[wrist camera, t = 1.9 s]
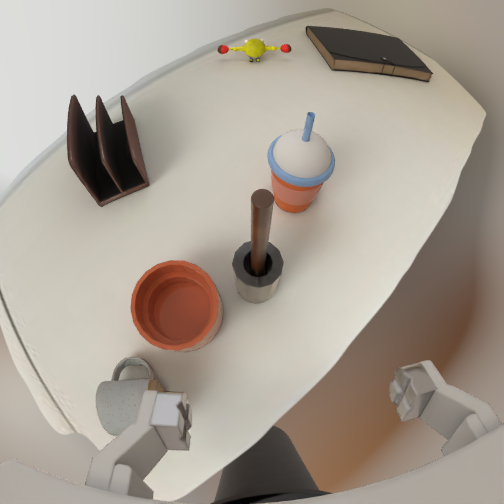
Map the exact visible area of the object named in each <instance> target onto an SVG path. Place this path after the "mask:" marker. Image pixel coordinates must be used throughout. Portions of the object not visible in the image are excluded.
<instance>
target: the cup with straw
mask: <svg viewBox="0 0 504 504" xmlns="http://www.w3.org/2000/svg"><path fill="white" fill-rule="evenodd" d="M314 118H315V114H314V113H313V112H308V113H307V118H306V123H305V128H304V129H295V130H291V131H289V132H287V133H285V134H283V135H281V136H279V137H278V138H276V139H275V140H274V141H273V142H272V144H271V145H270V148H269V150H268V162H269V165H270V168H271V173H272V188H273V191H274V199H275V202H276V204H277V205H278V206H279V207H280V208H281V209H283V210H285V211H287V212H291V213H297V212H301V211H303V210H305V209H306V208H308V206H309V205H310V203H311V202H312V200H313V199H314V198H315V197H316V195H317V193H318V191H319V190H320V188H321V186H322V184H323V182H324V181H326V180H327V179H328V178H329V177H330V176H331V174H332V172H333V170H334V166H335V159H334V155H333V152H332V150H331V148H330V147H329V146H328V144H327V143H326V141H325V140H324V139H323V138H322V137H321V136H320V135H318V134H317V133H315V132H313V131H312V126H313V122H314Z"/></svg>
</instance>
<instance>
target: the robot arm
mask: <svg viewBox="0 0 504 504" xmlns="http://www.w3.org/2000/svg"><path fill="white" fill-rule="evenodd" d="M394 375H395V377H396V378H395V379H394V380H393V381H392V382H391V384H390V388H389V391H390V392H389V394H390V398H391V400H392V402H393V403H394V404H396V405H398V407H397V413H398V415H399V417H400V419H401V421H402V422H405V421H409V420H412V419H415V418H418V417H419V418H420V419H421V420H422V421H424V422H425V423H426V424H427V425H429V426H430V427H431V428H433V429H434V430H436V431H437V432H438V433H440V434H441V435H442V436H444V437H445V438H447V439H448V441H447V442H446V444H445V445H444V446H443V447H442V449H441V451H442V453H443V455H444V457H442V458H440V459H438V460H435V461H434V462H431V463H428V464H426V465H424V466H421V467H419V468H416V469H414V470H411V471H409V472H406V473H403V474H401V475H398V476H395V477H392V478H389V479H386V480H383V481H380V482H376V483H373V484H369V485H366V486H362V487H359V488H355V489H351V490H347V491H342V492H338V493H333V494H328V495H323V496H318V497H312V498H306V499H299V500H292V501H283V502H274V503H261V504H504V423H503V424H502V423H501V421H500V420H499V418H498V417H497V415H496V413H495V412H494V410H493V409H492V407H491V406H490V404H488V403H486V402H484V401H482V400H480V399H478V398H476V397H474V396H472V395H470V394H468V393H466V392H464V391H462V390H460V389H458V388H456V387H454V386H452V385H447V384H446V382H445V381H444V379H443V378H442V376H441V375H440V373H439V372H438V370H437V369H436V368H435V366H434V365H433V363H432V362H431V361H430V360H426V361H423V362H419V363H415V364H411V365H408V366H404V367H400V368H398V369H397V370H396V372H395V374H394ZM191 426H192V413H191V408H190V405H189V404H188V403H187V396H186V393H185V392H166V391H150V390H146V391H145V392H144V394H143V398H142V401H141V405H140V409H139V413H138V416H137V420H136V424H131V425H130V426H129V427H128V428H126V429H125V430H124V431H123V432H122V433H121V434H120V435H118V436H117V437H116V438H115V439H114V440H113V441H111V442H110V443H109V444H108V445H107V446H106V447H104V448H103V449H102V450H101V451H100V452H99V453H97V454H96V455H95V456H94V457H93V458H92V461H91V465H90V469H89V472H88V475H87V479H86V482H85V485H83V484H80V483H76V482H73V481H70V480H66V479H64V478H61V477H58V476H55V475H52V474H50V473H47V472H45V471H42V470H40V469H37V468H35V467H32V466H30V465H28V464H26V463H24V462H21V461H19V460H16V459H13V458H10V459H8V460H5V461H3V462H1V463H0V504H189V503H177V502H167V501H159V500H153V491H152V489H151V488H150V487H149V486H148V485H147V484H146V483H145V482H144V481H143V480H144V478H145V477H146V476H147V475H148V474H149V473H150V471H151V470H152V469H153V468H154V467H155V466H156V464H157V463H158V462H159V461H160V460H161V458H162V457H163V456H164V455H165V453H166V452H167V450H189V447H190V437H191V436H190V434H189V431H188V430H189V429H190V428H191Z"/></svg>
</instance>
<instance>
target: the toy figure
mask: <svg viewBox="0 0 504 504" xmlns="http://www.w3.org/2000/svg"><path fill="white" fill-rule="evenodd" d="M276 49H281V51H282V52H284V53H289V52H290V51H291V46H290V45H288V44H286V45H285V44H284V45H282V46H281V48H279V47H275V46H273V47H269V46H265V44H264V41H263V40H262V39H260V40H259V39H251V40H245V45H244V46H242V47H234V48H228V47H227V46H225V45H221V46H219V47H218V52H219V53H220V54H225V53H227V52H228V50H234V51H237V50H238V51H245V53H246V54H247V55H248V56H249V57H250V62H253V61H252V60H253V59H252V58H257V59H256V62H259V57H260V56H262V55H263V54H264V52H265V51H268V50H276Z"/></svg>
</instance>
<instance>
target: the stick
mask: <svg viewBox="0 0 504 504" xmlns="http://www.w3.org/2000/svg"><path fill="white" fill-rule="evenodd" d="M273 203H274V196H273V194H272V193H271V192H270V191H268V190H265V189H259V190H257V191H255V192H254V193H253V194H252V196H251V276H255V277H261V276H263V275H264V268H265V261H266V254H267V247H268V239H269V232H270V225H271V218H272V210H273Z"/></svg>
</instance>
